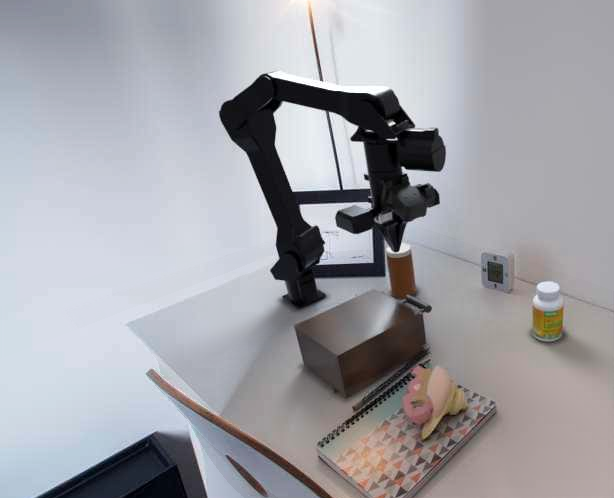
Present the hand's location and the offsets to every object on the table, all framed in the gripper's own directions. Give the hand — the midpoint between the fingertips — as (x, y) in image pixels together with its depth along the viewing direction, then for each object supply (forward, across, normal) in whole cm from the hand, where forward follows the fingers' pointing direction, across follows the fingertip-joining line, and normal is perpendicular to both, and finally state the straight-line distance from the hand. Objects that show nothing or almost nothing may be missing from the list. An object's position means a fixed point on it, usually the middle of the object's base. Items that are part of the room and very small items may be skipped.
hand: (395, 251), depth 97 cm
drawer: (+12, -10, -7) cm, 17 cm away
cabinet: (+13, -14, -7) cm, 20 cm away
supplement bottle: (+13, +12, -26) cm, 31 cm away
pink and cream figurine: (+13, -16, -27) cm, 34 cm away
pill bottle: (+13, +5, +6) cm, 15 cm away
